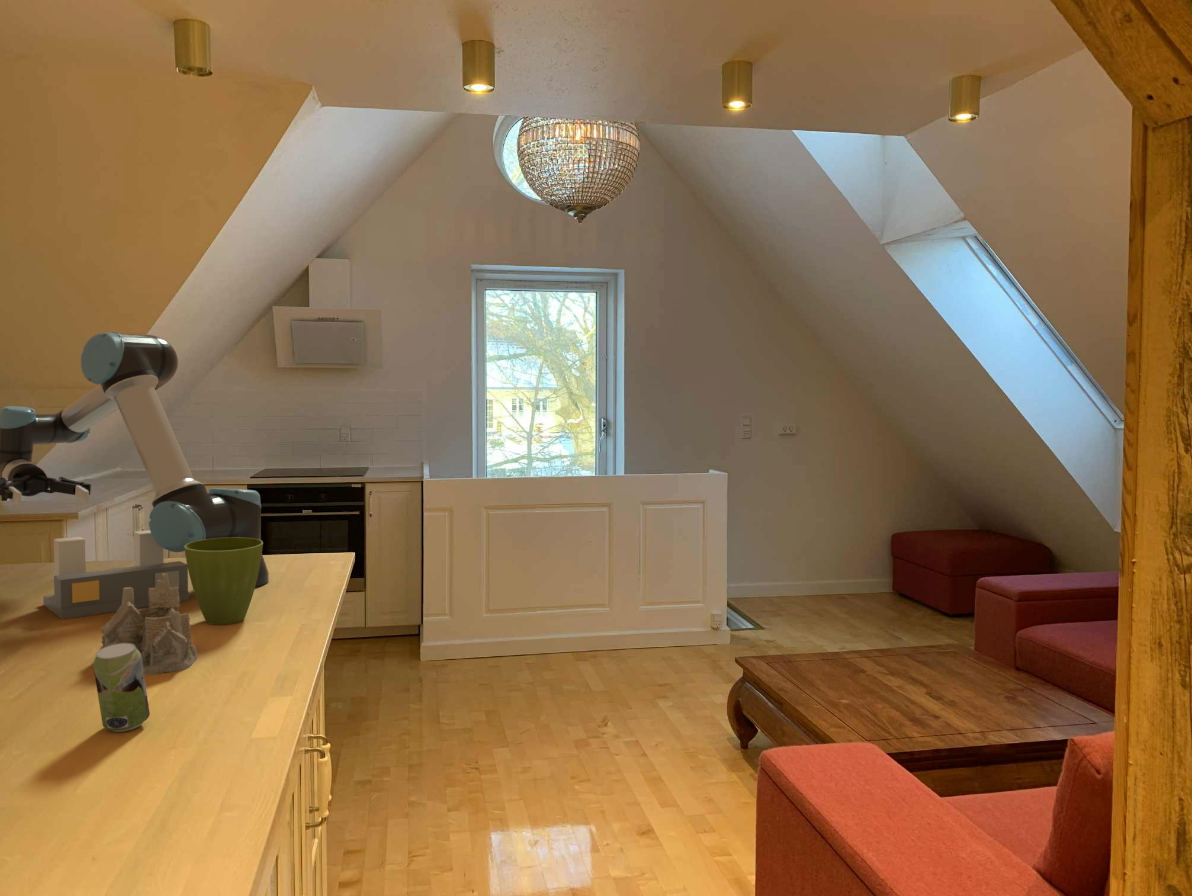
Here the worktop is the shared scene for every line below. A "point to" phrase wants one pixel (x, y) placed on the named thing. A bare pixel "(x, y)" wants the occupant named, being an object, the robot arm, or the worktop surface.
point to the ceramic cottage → (154, 629)
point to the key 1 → (69, 556)
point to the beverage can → (121, 687)
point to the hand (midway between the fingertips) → (54, 498)
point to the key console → (111, 588)
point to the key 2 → (146, 549)
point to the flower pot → (224, 576)
